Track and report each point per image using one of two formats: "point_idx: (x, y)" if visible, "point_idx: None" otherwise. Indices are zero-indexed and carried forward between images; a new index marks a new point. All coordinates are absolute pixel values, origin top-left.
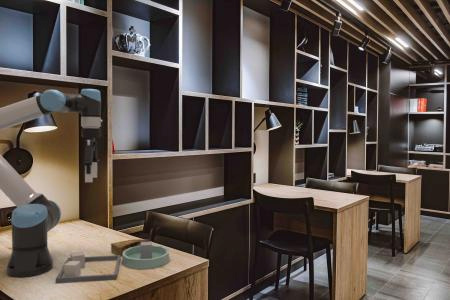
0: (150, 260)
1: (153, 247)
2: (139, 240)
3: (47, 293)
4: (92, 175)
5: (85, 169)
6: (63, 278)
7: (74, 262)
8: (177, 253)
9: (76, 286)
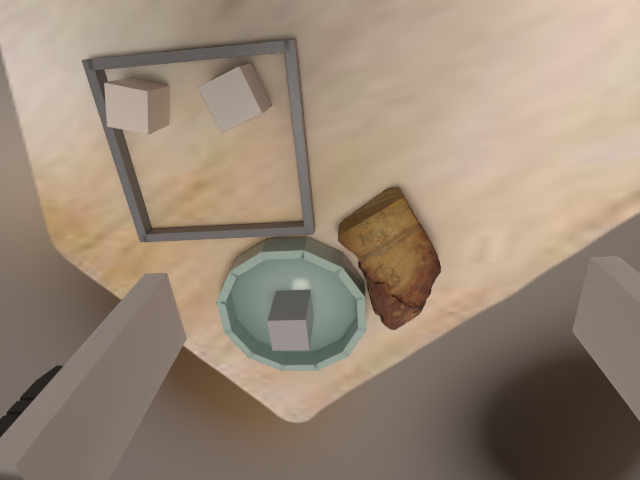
0: (223, 326)
1: (354, 331)
2: (411, 296)
3: (16, 59)
4: (144, 396)
5: (38, 403)
6: (90, 87)
7: (134, 115)
8: (353, 373)
9: (81, 135)
